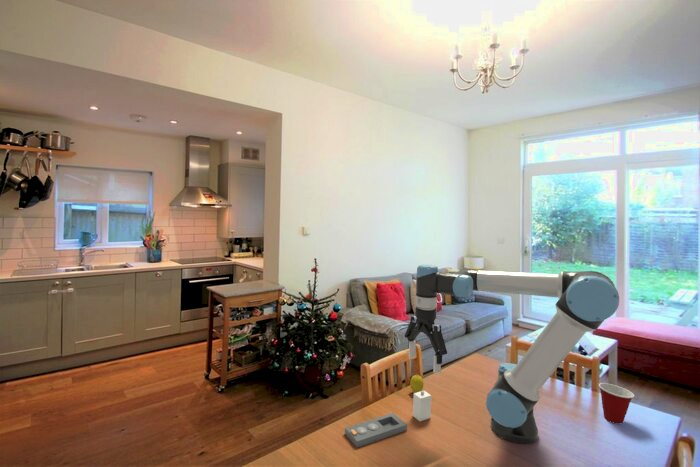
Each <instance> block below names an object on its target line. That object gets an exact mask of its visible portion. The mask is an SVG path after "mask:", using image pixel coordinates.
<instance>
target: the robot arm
mask: <svg viewBox="0 0 700 467" xmlns="http://www.w3.org/2000/svg"><path fill="white" fill-rule="evenodd" d="M415 276H416V277H415V278H416V281H415V282H416V283H415V309H414V310H415V312H414V315H413V316H410V319H409V320H410V322H409V324H408V326H407V328H406V331H405V334H404V337H405V339H406V338H407V341H408V343H407V344H408V346H407V348H408V359H409V360H411V359H415V358H416V350H417V349H416V348H417V346H416V344H417V341H416V339H417V337H418V336H419V335H420V333H422V334H425V335H426V336H427V337H428V339H429V341H430V344H431V346H432V348H433V350H434V353H433V367H432V368H433V370H432V372H433V373H434V374H437V373H441V368H442V367H441V366H442V364H443V356H446V355H447V354H448V350H447V346H446V342H445V340H444V336H443V332H442V325H441V324H435V320H436V319H437V309H436V308H437V305H438V304H437V303H438V301H437V299H438V294H441V295H446V296H447V295H448V296H455V297H458V298H470V297H471V295H472V293H473V292H474V291H477V292H487V293H488V292H490V293H500V294H502V293H503V294H513V295H524V296H525V295H526V296H537V297H547V298H549V297H550V298H558V300H557V302H556V303H555V309H556V313H555V314H554V316H553V317H552V318H551V319H550V320H549V322H548V323H547V325H546V326H545V327H544V329H543V330H542V331H541V332H540V334H539V335H538V336H537V338H536V339H535V340H534V342H533V343H532V345H530V347H529V348H528V350H527V351H526V352H525V353H524V355H523V356H522V357H521V359H520V360H519V361H518V363H517V364H516V363H511V362H509V363H508V362H504V363H503V362H502V363H501V364H499V365H498V369H497V372H498V375H497V376H498V377H497V380H496V381H495V383H494V384H493V387H491V389H490V391H489V392H488V393H487V397H486V399H485V400H486V401H485V404H486V409H487V412H488V414H489V415H490V417H491V418H490V428H491V430H492V431H493V432H494V433H495V434H496V435H497V436H498V437H500V438H502V439H504V440H506V441H509V442H512V443H515V444H519V445H520V444H522V445H528V444H529V445H530V444H533V443H535V442H536V441H537V440H538V437H539V436H538V435H539V430H538V429H539V428H538V426H537V423H536V419H535V416H534V408H535V406H536V404H538V402H539V400H540V398H541V395H540V392H539V391H540V390H541V388H542V387H543V386H544V384H545V383H546V382H547V381H548V380H549V379H550V378H551V376H552V375H553V373H554V372H555V371H556V370H557V368H559V366H560V365H561V364H562V363H563V361H564V360H565V359H566V357H568V356H569V354H570V353H571V352H572V350H573V349H574V348H575V346H576V345H577V344H578V343H579V341H580V340H581V339H582V337H584V335H585V334H586V333H587V332H592V331H597V330H598V329H599V327H600V326H601V325H602V324H603V323H604V321H605V320H607V319H609V318H611V317H612V316H613V315H614V314H615V313H616V311H618V308H619V305H620V295H619V294H620V293H619V291H618V289H617V288H616V286H615V284H614V281H613V280H612V279H611V278H610V277H608V276H607V275H606V274H604V273H601V272H599V271H593V270H584V271H562V270H561V271H560V273H543V272H542V273H541V272H539V273H538V272H537V273H536V272H523V271H521V272H519V271H497V270H474V269H472V268H463V269H460V270H459V271H456V272H451V273H450V272H442V271H439V267H438V266H437V265H435V264H434V265H433V264H419V265H418V266H417V267H416V275H415Z"/></svg>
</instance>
